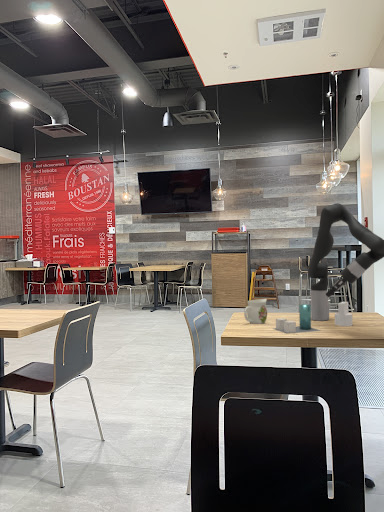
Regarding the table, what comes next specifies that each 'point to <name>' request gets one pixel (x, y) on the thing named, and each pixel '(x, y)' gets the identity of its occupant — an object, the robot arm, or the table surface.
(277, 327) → the cream cube
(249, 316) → the pitcher
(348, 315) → the base with upright slab
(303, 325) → the teal glass cylinder
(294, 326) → the cream cube
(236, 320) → the table surface
